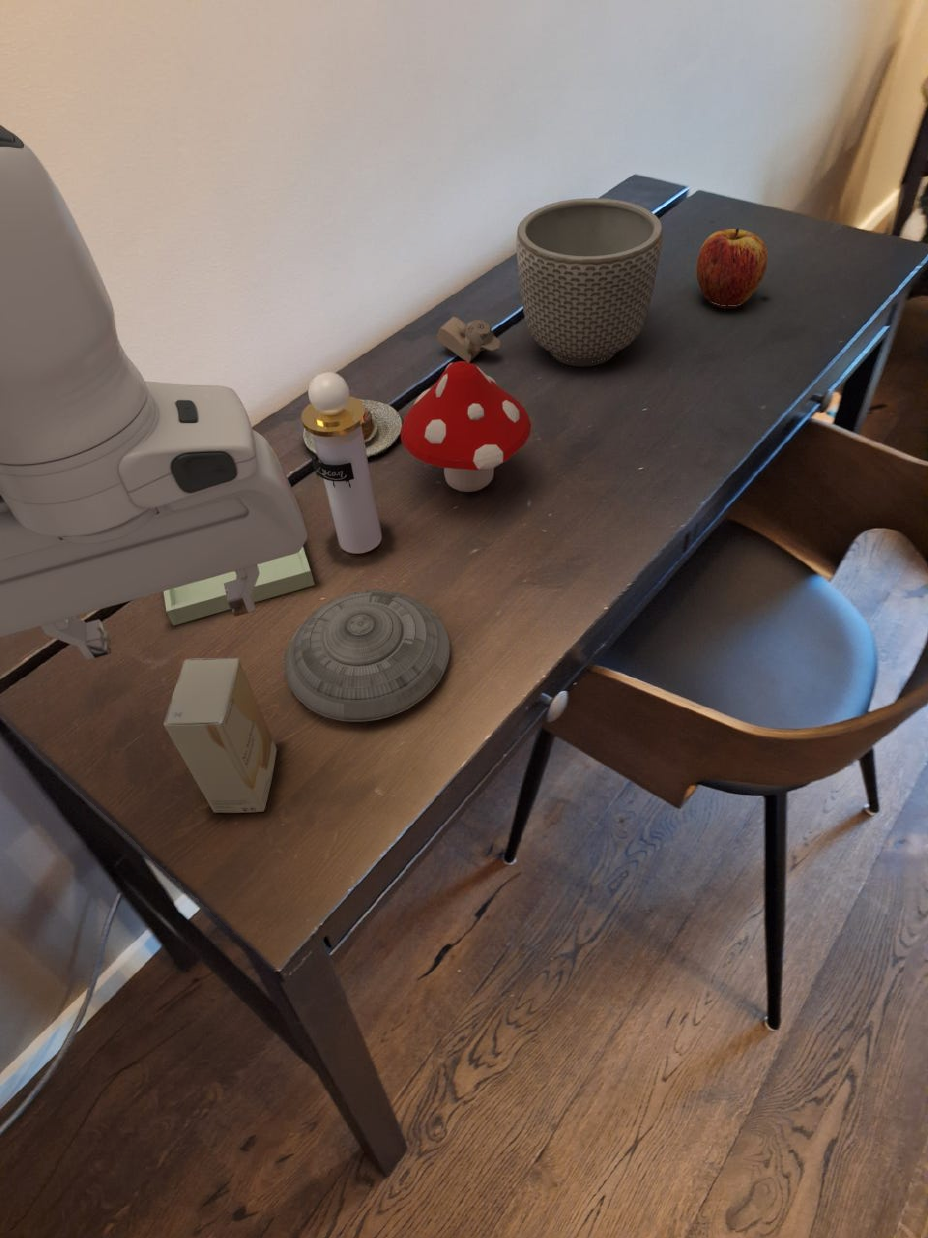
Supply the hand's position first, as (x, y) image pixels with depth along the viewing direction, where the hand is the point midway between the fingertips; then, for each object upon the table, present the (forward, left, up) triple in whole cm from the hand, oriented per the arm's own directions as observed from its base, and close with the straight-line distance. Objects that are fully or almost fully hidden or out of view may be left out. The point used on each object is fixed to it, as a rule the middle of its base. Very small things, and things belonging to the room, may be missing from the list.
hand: (172, 628), depth 53 cm
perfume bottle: (+16, +24, -19) cm, 35 cm away
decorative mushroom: (+30, +29, -19) cm, 46 cm away
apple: (+76, +52, -19) cm, 94 cm away
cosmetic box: (0, 0, -19) cm, 19 cm away
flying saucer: (+13, +8, -19) cm, 24 cm away
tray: (+3, +27, -19) cm, 33 cm away
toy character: (+39, +54, -19) cm, 69 cm away
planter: (+53, +49, -19) cm, 75 cm away
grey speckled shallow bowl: (+20, +43, -19) cm, 51 cm away
